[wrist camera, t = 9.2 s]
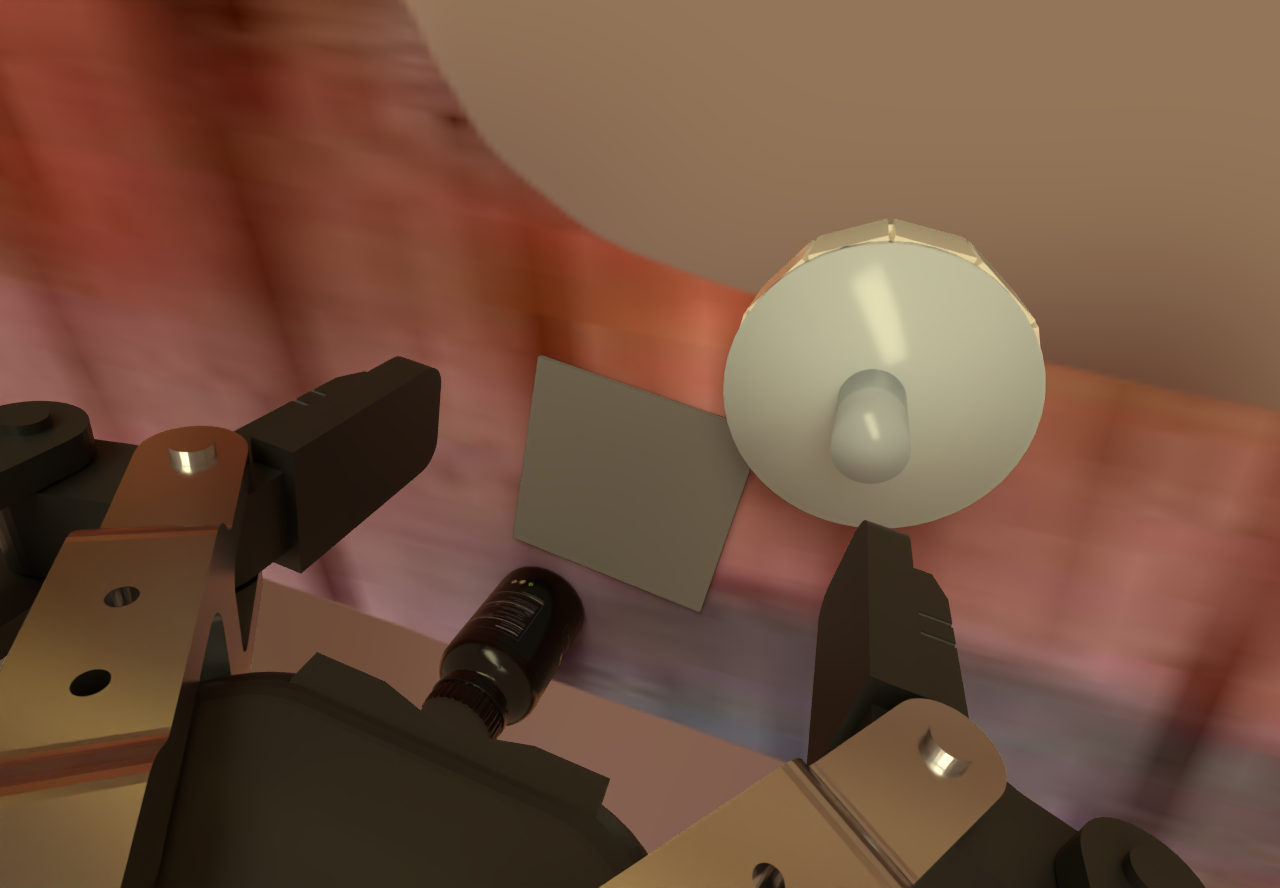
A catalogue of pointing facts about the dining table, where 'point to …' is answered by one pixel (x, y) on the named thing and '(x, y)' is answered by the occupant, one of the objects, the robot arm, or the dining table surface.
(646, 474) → the mat
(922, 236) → the bowl
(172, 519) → the robot arm
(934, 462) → the lid
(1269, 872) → the dining table surface
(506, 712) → the supplement bottle
